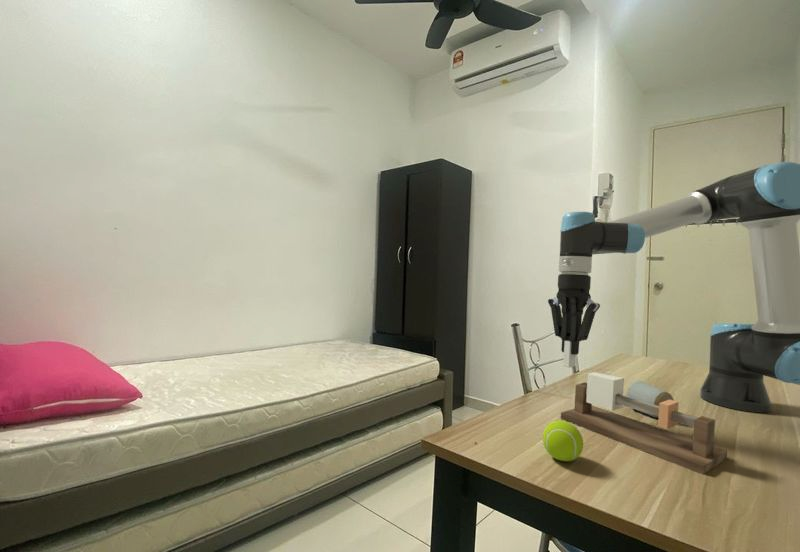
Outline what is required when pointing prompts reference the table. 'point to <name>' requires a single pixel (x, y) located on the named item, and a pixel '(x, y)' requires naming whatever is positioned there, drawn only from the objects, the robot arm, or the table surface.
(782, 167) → the robot arm
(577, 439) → the tennis ball
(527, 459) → the table surface
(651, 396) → the pale blue cylinder
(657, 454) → the rail stand
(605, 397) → the sleeve
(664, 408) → the band
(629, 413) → the table surface
